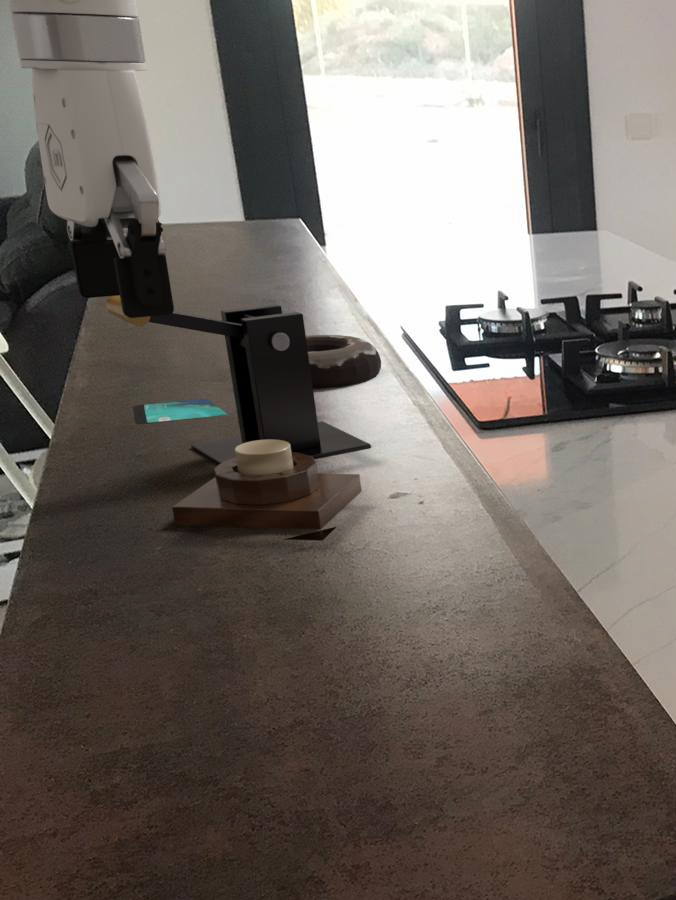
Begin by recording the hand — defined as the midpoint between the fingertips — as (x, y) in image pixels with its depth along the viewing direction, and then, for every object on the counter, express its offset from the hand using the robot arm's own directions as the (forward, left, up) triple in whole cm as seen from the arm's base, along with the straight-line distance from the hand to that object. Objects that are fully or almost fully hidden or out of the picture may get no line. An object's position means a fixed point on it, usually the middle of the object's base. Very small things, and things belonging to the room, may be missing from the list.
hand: (126, 305), depth 92 cm
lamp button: (+12, -7, -10) cm, 17 cm away
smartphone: (-3, +19, -14) cm, 23 cm away
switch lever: (+3, +3, -3) cm, 6 cm away
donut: (+1, +31, -14) cm, 34 cm away
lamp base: (+12, -7, -13) cm, 19 cm away
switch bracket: (+7, +7, -13) cm, 17 cm away
